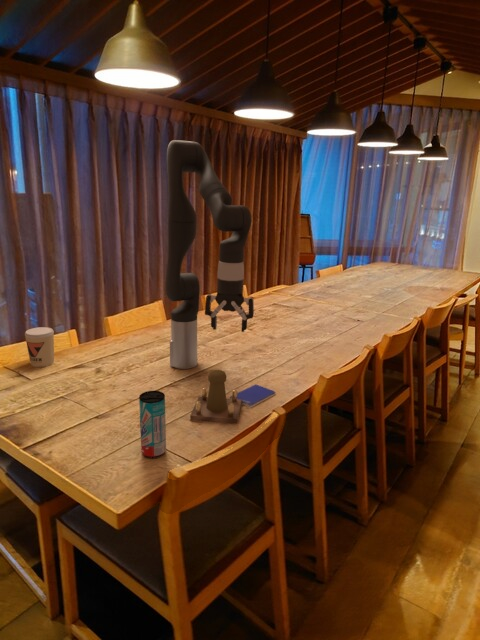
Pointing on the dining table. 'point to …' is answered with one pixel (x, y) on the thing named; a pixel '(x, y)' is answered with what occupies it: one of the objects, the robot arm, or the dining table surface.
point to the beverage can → (152, 424)
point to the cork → (217, 391)
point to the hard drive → (254, 395)
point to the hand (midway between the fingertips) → (228, 329)
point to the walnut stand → (220, 417)
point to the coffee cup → (40, 346)
